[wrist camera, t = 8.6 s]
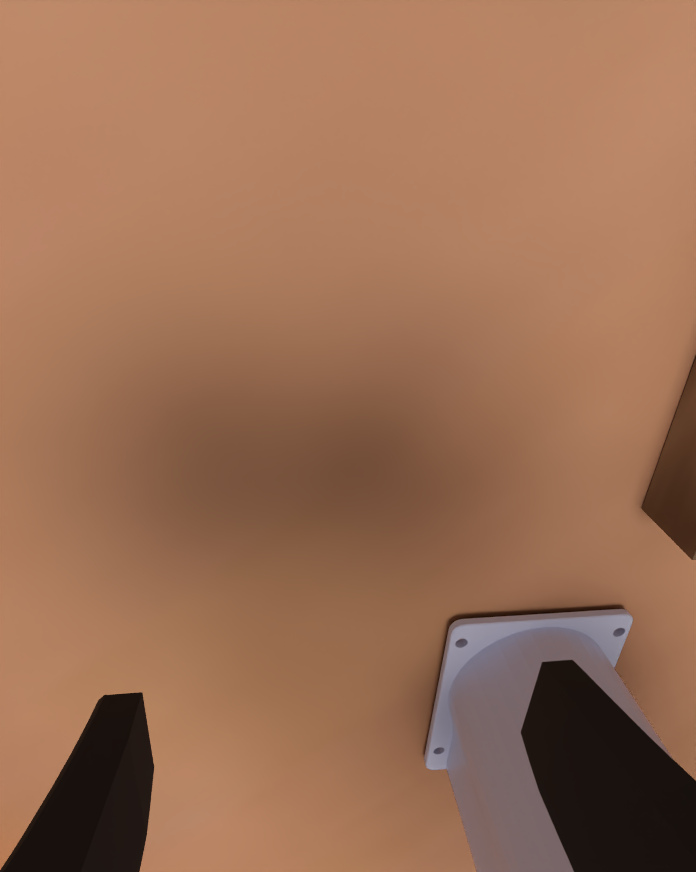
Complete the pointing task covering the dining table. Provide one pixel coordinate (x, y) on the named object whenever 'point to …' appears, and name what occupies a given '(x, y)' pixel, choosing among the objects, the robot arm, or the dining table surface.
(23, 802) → the dining table surface
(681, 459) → the walnut plinth
